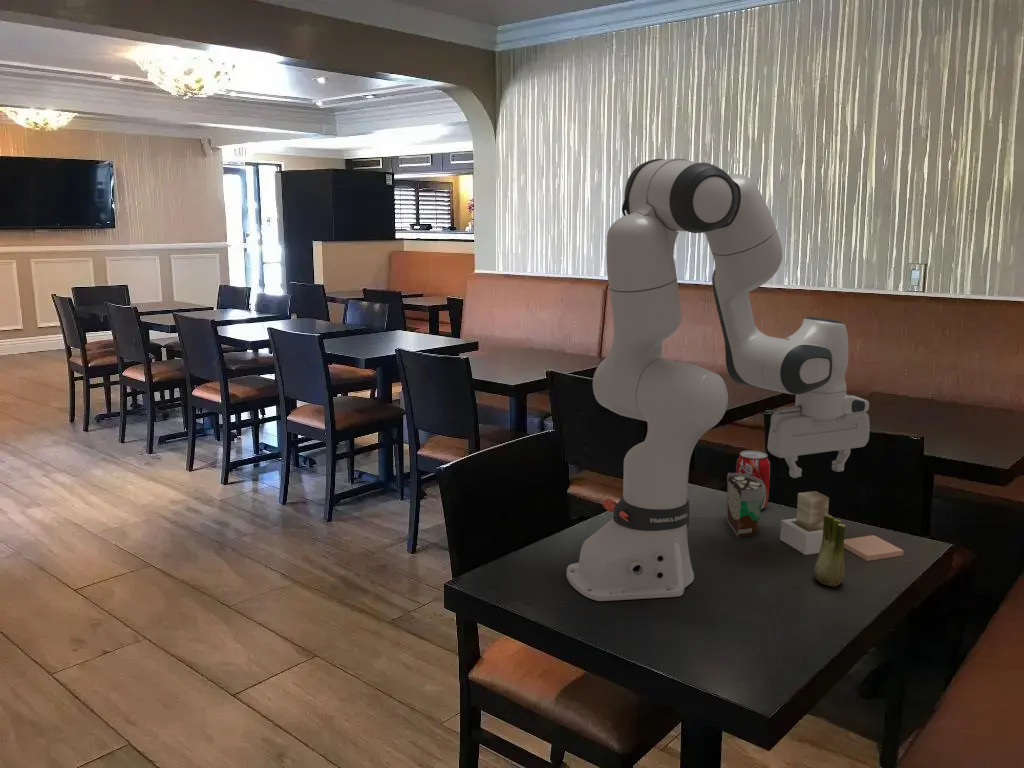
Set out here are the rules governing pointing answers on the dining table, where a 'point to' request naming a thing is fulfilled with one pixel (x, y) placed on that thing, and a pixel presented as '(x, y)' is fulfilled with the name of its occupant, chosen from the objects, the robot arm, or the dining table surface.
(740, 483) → the food container
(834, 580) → the fennel bulb
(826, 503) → the ash peg
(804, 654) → the dining table surface
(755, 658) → the dining table surface
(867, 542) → the terracotta tile
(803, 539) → the pocket collar
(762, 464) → the soda can
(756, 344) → the robot arm
